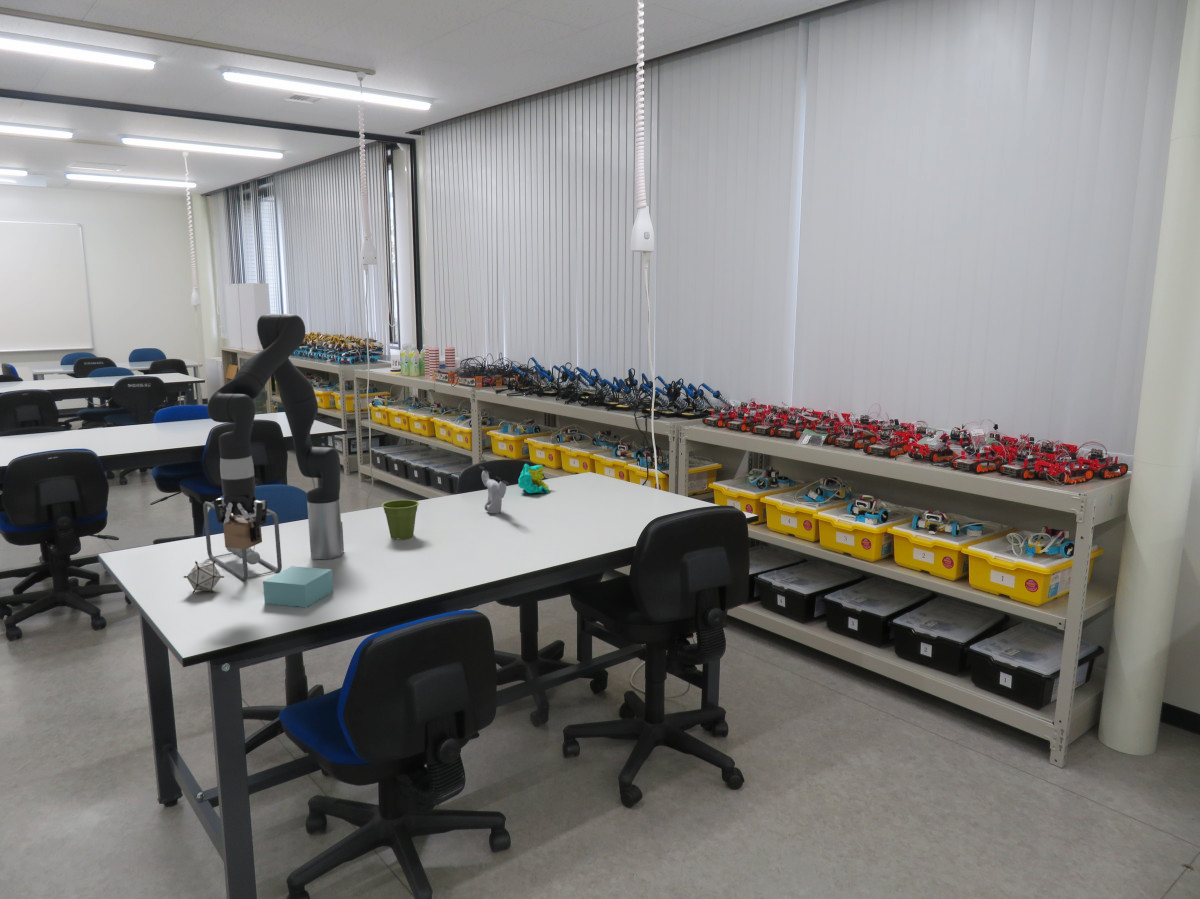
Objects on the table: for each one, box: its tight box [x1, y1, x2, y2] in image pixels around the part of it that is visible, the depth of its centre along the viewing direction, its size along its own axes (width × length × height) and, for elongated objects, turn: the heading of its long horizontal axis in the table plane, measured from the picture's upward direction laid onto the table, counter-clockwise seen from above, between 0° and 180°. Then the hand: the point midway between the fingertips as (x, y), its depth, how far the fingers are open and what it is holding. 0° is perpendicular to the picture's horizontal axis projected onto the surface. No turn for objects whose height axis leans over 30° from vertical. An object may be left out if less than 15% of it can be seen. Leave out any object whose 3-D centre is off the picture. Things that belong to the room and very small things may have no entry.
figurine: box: [478, 465, 510, 515], centre depth 289 cm, size 35×6×15 cm, turn 25°
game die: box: [183, 560, 225, 594], centre depth 210 cm, size 9×8×10 cm
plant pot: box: [381, 499, 420, 541], centre depth 259 cm, size 12×12×11 cm
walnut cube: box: [222, 518, 263, 549], centre depth 198 cm, size 6×6×6 cm
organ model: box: [518, 463, 551, 494], centre depth 321 cm, size 15×12×13 cm
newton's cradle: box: [202, 501, 283, 581], centre depth 230 cm, size 30×10×18 cm, turn 44°
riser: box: [262, 565, 334, 608], centre depth 206 cm, size 12×12×6 cm
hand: (243, 540), depth 198 cm, fingers closed on walnut cube, 6 cm apart
